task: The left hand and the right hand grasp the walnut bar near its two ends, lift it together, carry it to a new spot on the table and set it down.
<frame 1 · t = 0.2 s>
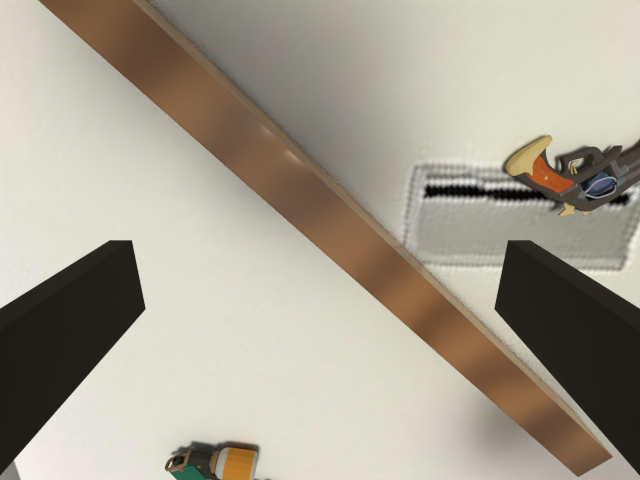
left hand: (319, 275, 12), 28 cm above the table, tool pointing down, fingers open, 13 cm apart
bar: (370, 243, 42), on the table
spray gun: (229, 475, 55), on the table
toy gun: (596, 153, 38), on the table
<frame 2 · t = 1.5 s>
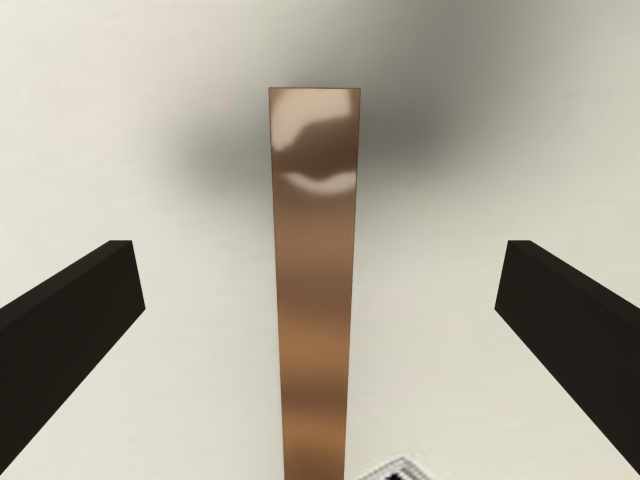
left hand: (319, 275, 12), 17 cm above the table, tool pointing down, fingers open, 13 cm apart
bar: (314, 476, 40), on the table
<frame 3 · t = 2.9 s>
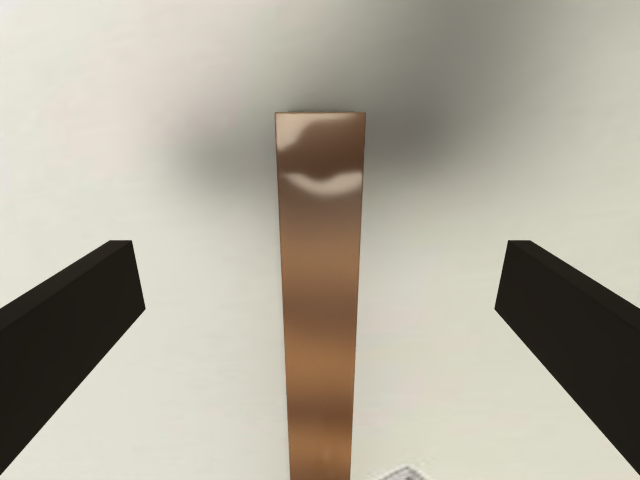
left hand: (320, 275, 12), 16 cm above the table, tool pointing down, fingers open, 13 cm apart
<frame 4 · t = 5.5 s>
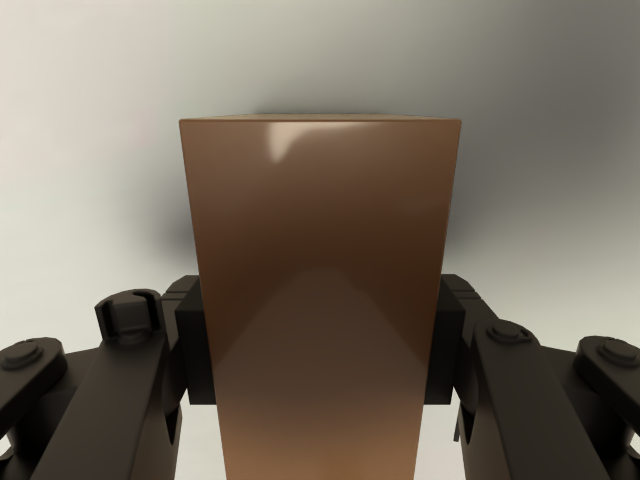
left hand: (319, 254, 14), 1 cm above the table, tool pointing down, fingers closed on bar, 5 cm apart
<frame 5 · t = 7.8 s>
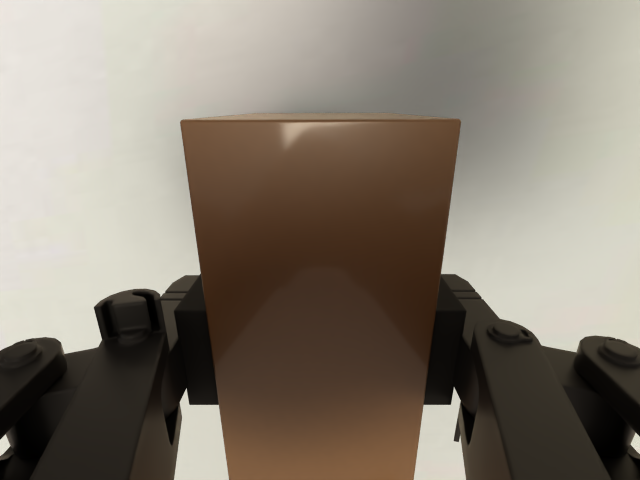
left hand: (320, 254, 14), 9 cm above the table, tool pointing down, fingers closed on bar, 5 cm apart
when the left hand's fingers open (2 cm above the table, at t = 9.9 s): bar drops 1 cm, on the table.
when the right hand's fingers open (4 cm above the table, at t = 10.1 s): bar stays where it is, on the table.
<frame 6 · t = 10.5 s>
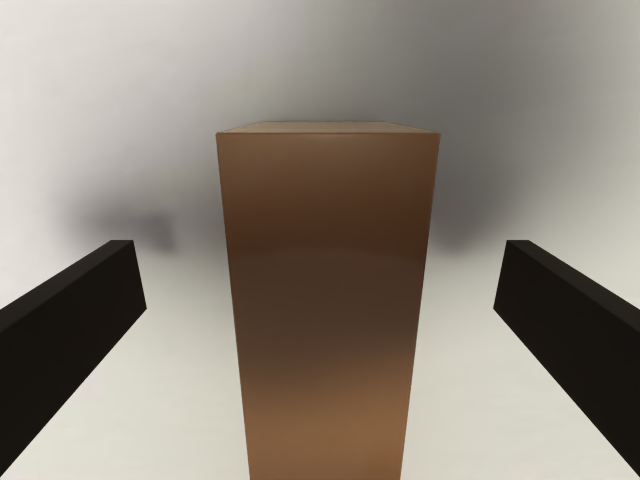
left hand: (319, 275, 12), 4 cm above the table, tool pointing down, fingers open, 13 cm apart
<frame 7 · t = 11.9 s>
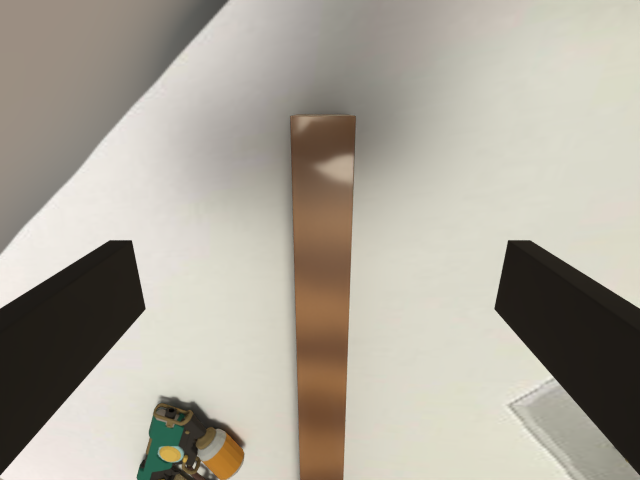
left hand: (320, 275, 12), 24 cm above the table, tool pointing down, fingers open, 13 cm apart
bar: (321, 428, 48), on the table
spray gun: (188, 449, 49), on the table
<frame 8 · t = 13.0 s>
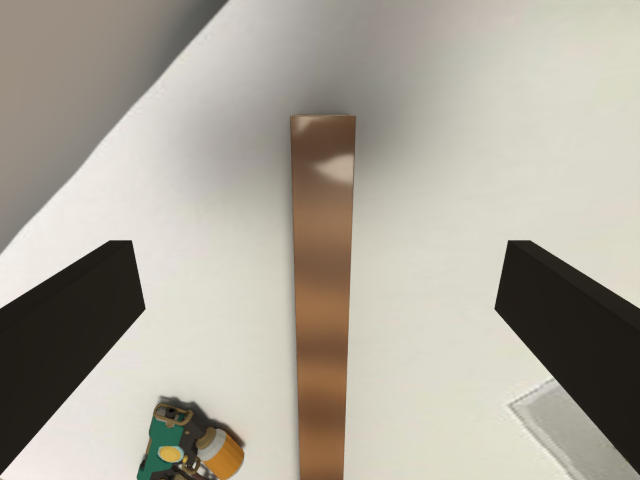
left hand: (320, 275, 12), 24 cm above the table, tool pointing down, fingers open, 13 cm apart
bar: (321, 428, 48), on the table
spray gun: (188, 449, 49), on the table
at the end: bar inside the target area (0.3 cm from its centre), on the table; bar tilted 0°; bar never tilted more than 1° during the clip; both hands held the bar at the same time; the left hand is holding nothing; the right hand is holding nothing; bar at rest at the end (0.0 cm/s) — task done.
